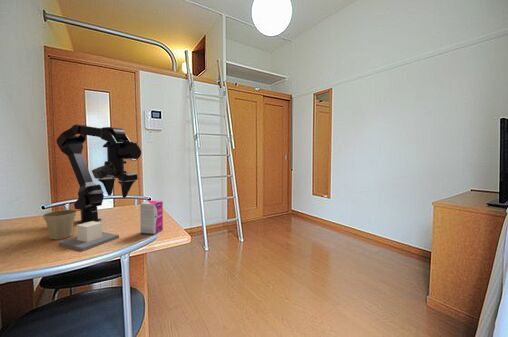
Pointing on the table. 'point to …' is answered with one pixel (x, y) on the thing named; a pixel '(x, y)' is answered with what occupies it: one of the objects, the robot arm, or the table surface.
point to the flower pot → (60, 223)
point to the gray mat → (84, 246)
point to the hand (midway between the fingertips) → (116, 196)
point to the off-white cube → (89, 231)
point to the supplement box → (151, 217)
